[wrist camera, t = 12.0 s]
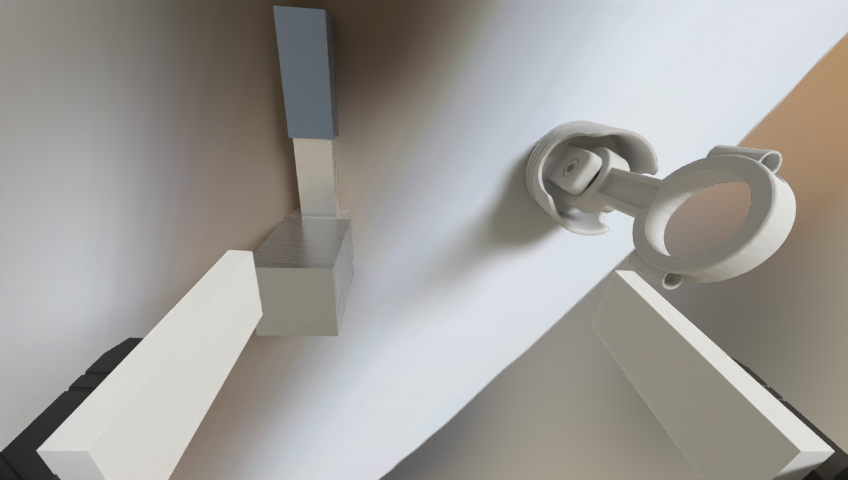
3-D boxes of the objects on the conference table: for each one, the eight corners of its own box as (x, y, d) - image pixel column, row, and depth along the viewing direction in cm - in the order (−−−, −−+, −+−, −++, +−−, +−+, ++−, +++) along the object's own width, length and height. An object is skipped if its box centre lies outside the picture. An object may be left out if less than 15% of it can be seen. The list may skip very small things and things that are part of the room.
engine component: (507, 188, 37) (576, 225, 39) (614, 299, 18) (731, 355, 21) (569, 93, 33) (642, 141, 35) (785, 113, 14) (904, 210, 17)
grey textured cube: (284, 217, 33) (242, 267, 25) (350, 219, 34) (333, 268, 25) (292, 273, 36) (257, 335, 27) (353, 274, 37) (338, 335, 28)
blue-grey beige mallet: (272, 11, 28) (231, -10, 22) (343, 16, 29) (325, -3, 22) (301, 256, 39) (280, 294, 32) (353, 257, 39) (343, 295, 32)
